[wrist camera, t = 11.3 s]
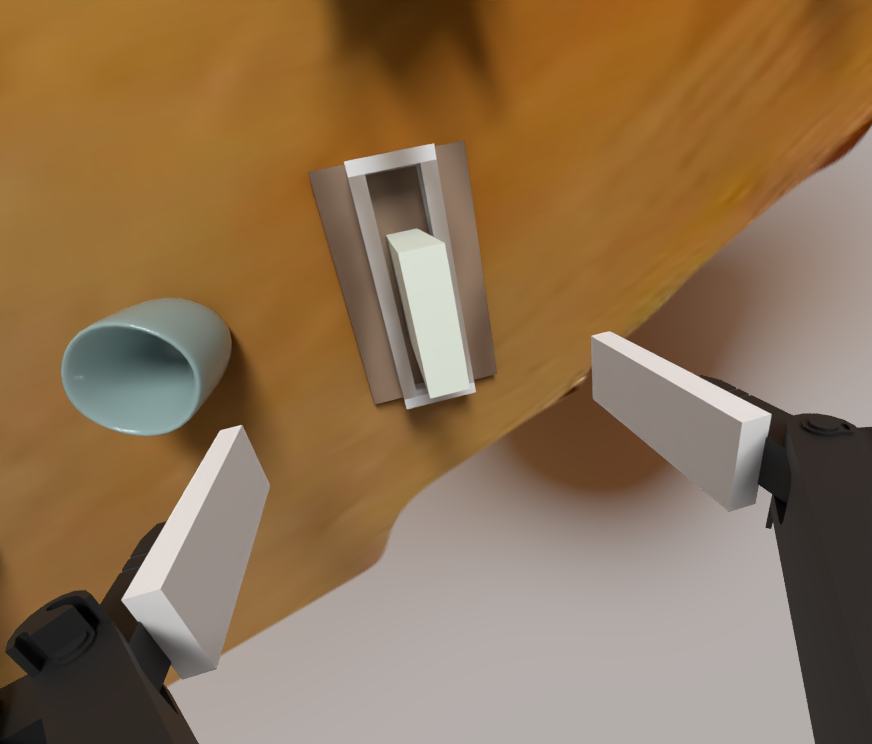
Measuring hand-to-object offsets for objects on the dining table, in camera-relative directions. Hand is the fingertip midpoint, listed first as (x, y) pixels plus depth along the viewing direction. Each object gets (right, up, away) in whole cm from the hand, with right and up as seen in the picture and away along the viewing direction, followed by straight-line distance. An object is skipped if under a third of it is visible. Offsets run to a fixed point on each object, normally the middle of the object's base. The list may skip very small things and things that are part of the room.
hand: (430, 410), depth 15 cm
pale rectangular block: (-2, +9, +20) cm, 21 cm away
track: (-2, +9, +20) cm, 22 cm away
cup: (-20, +5, +19) cm, 28 cm away
